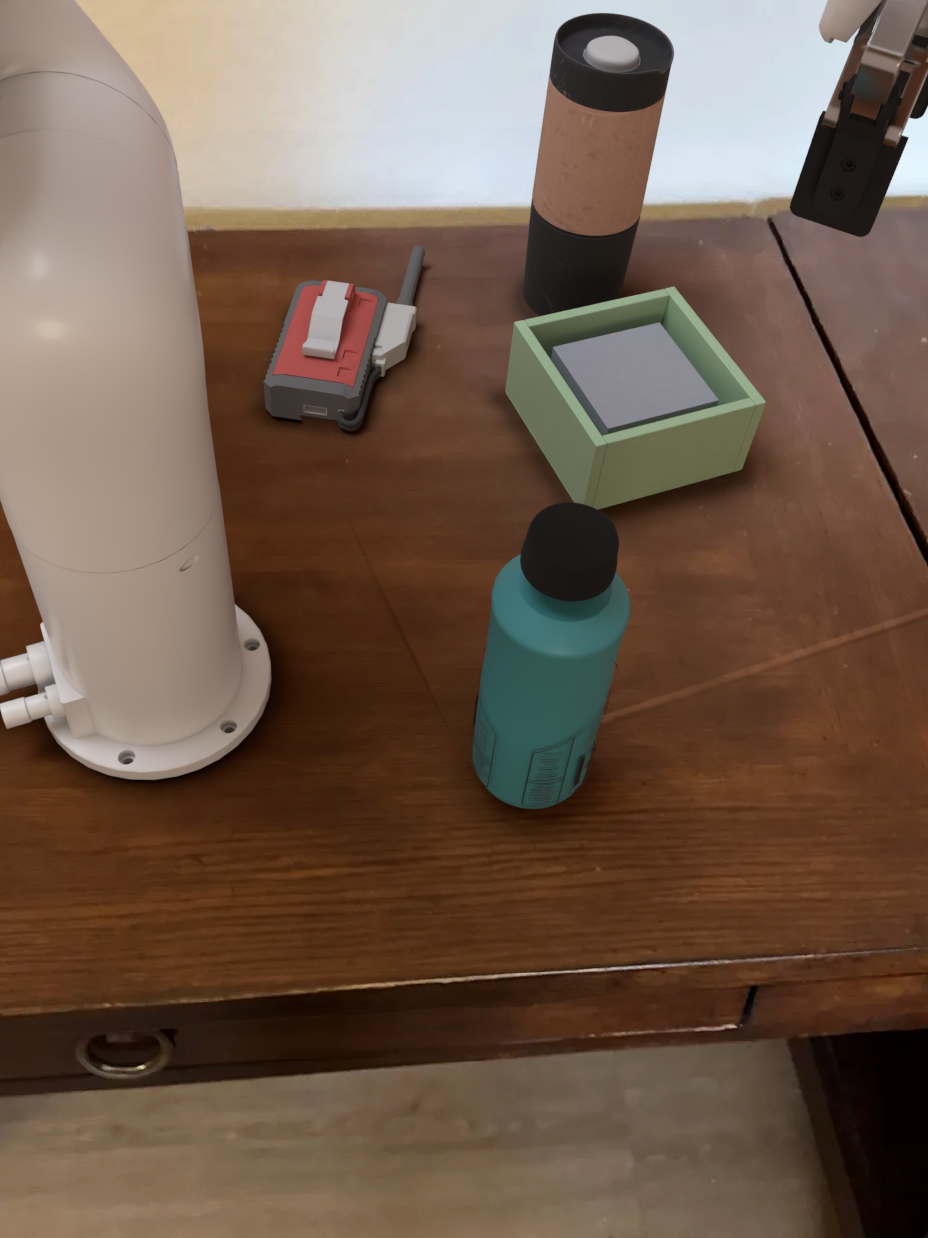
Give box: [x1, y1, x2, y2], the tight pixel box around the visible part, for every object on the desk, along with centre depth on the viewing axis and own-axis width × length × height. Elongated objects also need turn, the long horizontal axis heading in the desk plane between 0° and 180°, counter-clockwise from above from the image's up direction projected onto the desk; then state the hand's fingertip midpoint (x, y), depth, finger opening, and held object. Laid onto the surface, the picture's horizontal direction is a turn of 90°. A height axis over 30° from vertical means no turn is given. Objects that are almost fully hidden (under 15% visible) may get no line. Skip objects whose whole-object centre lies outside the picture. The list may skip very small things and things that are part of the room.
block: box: [551, 323, 719, 436], centre depth 80 cm, size 8×8×5 cm
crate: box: [504, 286, 767, 510], centre depth 80 cm, size 12×12×7 cm
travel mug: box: [522, 12, 675, 317], centre depth 83 cm, size 8×8×20 cm
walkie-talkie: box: [262, 245, 426, 432], centre depth 85 cm, size 9×4×20 cm
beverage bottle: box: [469, 501, 631, 810], centre depth 58 cm, size 6×7×20 cm
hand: (859, 161), depth 50 cm, fingers open, 9 cm apart
